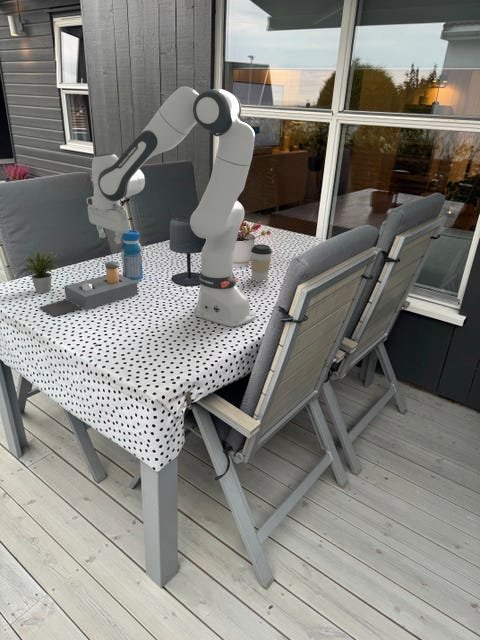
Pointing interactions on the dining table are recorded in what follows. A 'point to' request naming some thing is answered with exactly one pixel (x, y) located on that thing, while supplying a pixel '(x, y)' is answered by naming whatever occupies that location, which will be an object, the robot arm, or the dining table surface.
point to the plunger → (86, 286)
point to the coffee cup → (260, 261)
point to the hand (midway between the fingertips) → (109, 240)
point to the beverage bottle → (132, 256)
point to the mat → (60, 308)
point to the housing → (100, 292)
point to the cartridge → (112, 272)
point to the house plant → (41, 272)
